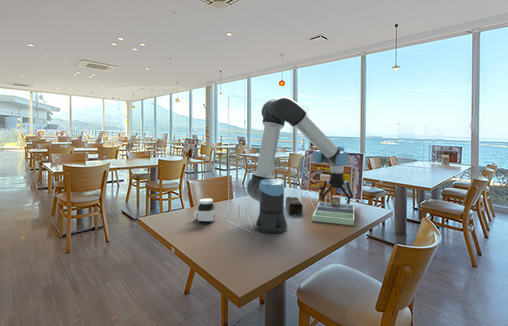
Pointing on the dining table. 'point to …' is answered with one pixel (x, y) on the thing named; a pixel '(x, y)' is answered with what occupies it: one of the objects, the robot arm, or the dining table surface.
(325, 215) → the pale green tray
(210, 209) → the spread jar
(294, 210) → the beverage carton
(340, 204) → the grey tray
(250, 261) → the dining table surface
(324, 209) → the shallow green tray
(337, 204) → the letter block
